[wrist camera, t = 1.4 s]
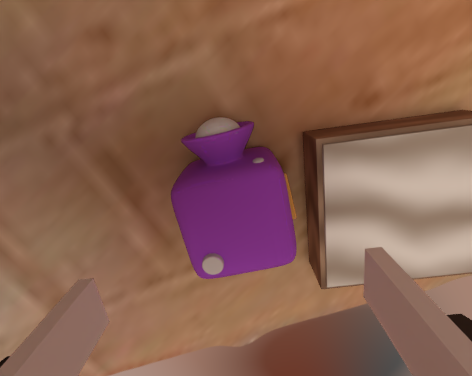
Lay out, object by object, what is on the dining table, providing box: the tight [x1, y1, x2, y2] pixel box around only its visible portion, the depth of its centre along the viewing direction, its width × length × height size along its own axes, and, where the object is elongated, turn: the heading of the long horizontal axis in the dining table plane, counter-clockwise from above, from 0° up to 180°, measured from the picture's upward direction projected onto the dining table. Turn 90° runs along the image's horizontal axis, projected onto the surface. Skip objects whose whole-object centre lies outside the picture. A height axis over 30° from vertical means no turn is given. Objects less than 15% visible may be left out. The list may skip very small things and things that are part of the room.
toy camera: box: [171, 117, 297, 279], centre depth 24 cm, size 11×14×10 cm
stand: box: [303, 110, 472, 289], centre depth 27 cm, size 16×16×5 cm
